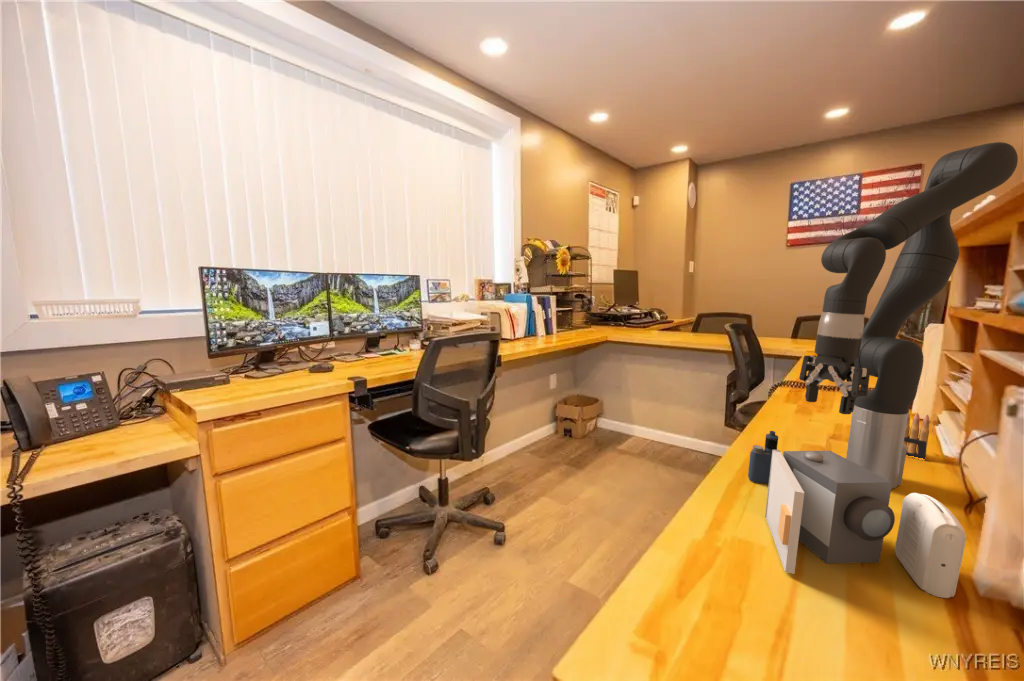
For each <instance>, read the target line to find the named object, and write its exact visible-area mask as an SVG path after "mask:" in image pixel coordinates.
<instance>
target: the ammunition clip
mask: <svg viewBox="0 0 1024 681" xmlns="http://www.w3.org/2000/svg"><path fill="white" fill-rule="evenodd" d="M910 414H911V413H910V411H909V412H908V418H907V424H906V431H905V437H904V444H906V445H907V452H906V455H908V456H914V457H918V458H923V459H925V457H926V456H927V447H928V442H929V441H928V440H929V435H930V416H929V414H926V415H925V416H924V417H923V419H922V424H921V426H920V414H919V412H916V413H915V415H914V416H913V418H912V419H913V420H912V423H911V422H910V420H911V415H910ZM910 423H911V424H910ZM910 425H911V427H910ZM925 460H926V459H925Z"/></svg>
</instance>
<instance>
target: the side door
mask: <svg viewBox="0 0 1024 681" xmlns="http://www.w3.org/2000/svg"><path fill="white" fill-rule="evenodd" d="M767 487H768V488H767V497H766V505H765V506H766V507H765V508H766V509H765V516H764V517H765V519H766V521H767V525H768V527H769V530H770V533H771V535H772V538H773V541H774V544H775V547H776V550H777V552H778V556H779V558H780V562H781V564H782V566H783V569H784V572H785V573H788V574H793V575H794V574H795V572H796V566H797V557H798V556H797V555H798V546H799V541H800V540H799V532H800V524H801V516H802V508H803V500H804V491H803V490H802V488H801V486H800V484H799V483H798V481H797V479H796V477H795V476H794V474H793V472H792V471H791V469H790V467H789V465H788V464H787V462H786V460H785V458H784V457H783V453H782V451H781V450H779V449H777V450H772V459H771V468H770V477H769V484H768V486H767Z"/></svg>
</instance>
